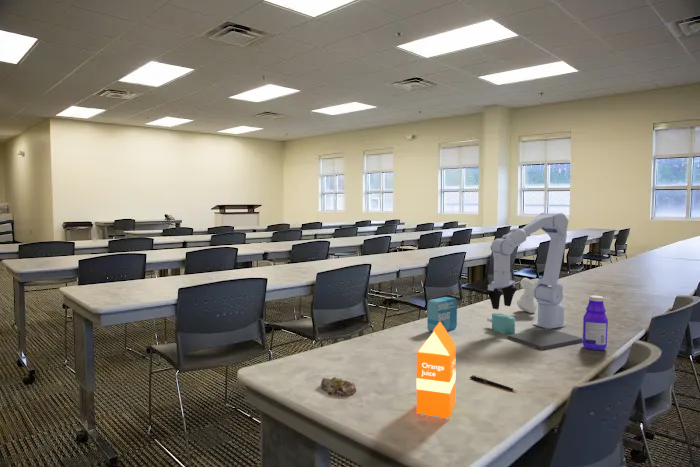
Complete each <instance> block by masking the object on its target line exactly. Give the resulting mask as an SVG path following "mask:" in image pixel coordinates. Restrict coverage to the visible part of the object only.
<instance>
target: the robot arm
mask: <svg viewBox="0 0 700 467" xmlns="http://www.w3.org/2000/svg"><path fill="white" fill-rule="evenodd" d="M568 225H569V220H568V217H567V216H566V214H564V213H561V212H559V213H557V212H555V213H554V212H551V213H550V212H549V213H548V212H541V213H540V214H537V215H535V218H534V219H533V220H531V221H530V222H528V223H527V224H526V225H525V226H523V227H521V228H519V227H518V228H517V227H516V228H515V227H513V228H512V229H511V231H509V232H508V233H507V234H503V235H502V237H501V238H495V239H494V240H493V241H492V243H491V245H490V250H491V253H492V257H493V281H491V282H490V284H487V289H486V293H487V295H488V297H489V300H490V304H491V308H492V309H494V310H499V309H500V301H501V297H502V296H503V304H504V307H505V306H506V307H511V305H512V302H513V297H514V295H515V293H516V291H517V290H518V287H517V286H516V280H512V279H511V254H513V252H514V250H515V249H516V248H517V247H518V246H520V245H521V244H523V243H524V242H526V240H527V237H529V236H530V235H532V234H534V233H535V232H537V231H540V230H542V231H543V232H545V233H546V234H547V235H548V236H549V238H550V241H549V245H548V251H547V255H546V261H545V266H544V270H543V271H544V272H543V276H542V278H540V280H539V281H538V282H537V286H536V287H535V289H534V297H535V298H534V299H535V300H536V301H537V322H533V323H532V325H534V326H537V327H540V328H542V329H546V328H549V329H556V328H563V327H564V328H565V327H566V324H564V322H565V320H564V319H565V309H564V306H563V305H562V304H561V303H562V301H563V298H564V292H563V290H564V286H563V283H561V282H560V280H559V277H560V272H561V267H562V262H563V257H564V252H565V247H566V242H567V236H568V235H567V230H568ZM500 289H501V290H500Z"/></svg>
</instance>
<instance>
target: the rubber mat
mask: <svg viewBox="0 0 700 467" xmlns="http://www.w3.org/2000/svg"><path fill="white" fill-rule="evenodd" d="M507 339H509V340H511V341H514V342H517V343H520V344H522V345H523V344H524V345H526V346H529V347H532V348H535V349H537V350H540V351H543V350H548V349H554V348H559V347H564V346H570V345H574V343H575V344H579V342H580V343H582V337H580V336H576V335H572V334H569V333H567V332H566V333H565V332H563V331H559V330H556V329H554V328H552V329H549V328H541V329H535V330H530V331H524V332H523V331H522V332H518V333H515V334H511V335H507Z"/></svg>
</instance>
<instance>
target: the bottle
mask: <svg viewBox="0 0 700 467" xmlns="http://www.w3.org/2000/svg"><path fill="white" fill-rule="evenodd" d="M588 298H589V299H588V304H587V306H586V308H585V310H586V312H585V313H584V315H583V317H582V335H581V336H582V337H581V338H582V342H581V343H582V345H583V347H584V348H585V349H588V350H594V351H604V350H605V349H606V348H607V345H608V324H609V322H608V317H607V315H606V311H607V309H606V308H605V305H604V297H603V296H601V295H596V294H595V295H594V294H593V295H589V297H588Z"/></svg>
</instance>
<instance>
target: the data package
mask: <svg viewBox="0 0 700 467" xmlns="http://www.w3.org/2000/svg"><path fill="white" fill-rule="evenodd" d="M426 318H427V321H426V322H427V327H426V329H427V330H428V331H429V332H430V333H432V332H434V331H433V330H434V329H435V327H436V326H437V325H438V323H439V322H441V323H442V325H443V326H444V328H445V330H446V331H447V332H449V331H452V330H456V329H457V326H458V300H457V299H456V298H454V297H450V296H444V297H438V298H433V299H429V300H428V301H427V317H426Z"/></svg>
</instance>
